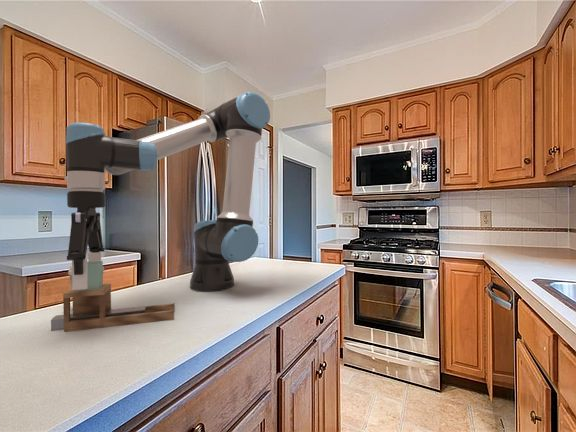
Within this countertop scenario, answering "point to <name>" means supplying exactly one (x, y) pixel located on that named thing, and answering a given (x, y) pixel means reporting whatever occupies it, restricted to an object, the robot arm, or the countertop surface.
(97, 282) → the block
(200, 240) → the robot arm
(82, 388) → the countertop surface
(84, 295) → the track
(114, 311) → the bar
